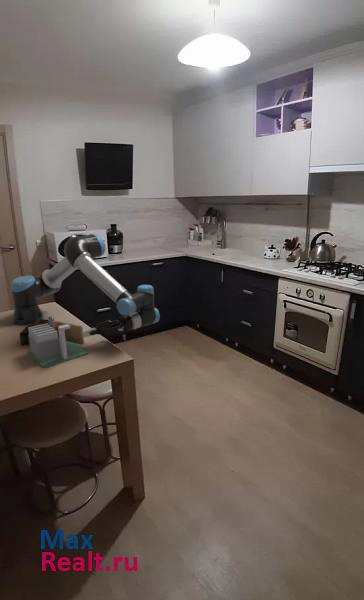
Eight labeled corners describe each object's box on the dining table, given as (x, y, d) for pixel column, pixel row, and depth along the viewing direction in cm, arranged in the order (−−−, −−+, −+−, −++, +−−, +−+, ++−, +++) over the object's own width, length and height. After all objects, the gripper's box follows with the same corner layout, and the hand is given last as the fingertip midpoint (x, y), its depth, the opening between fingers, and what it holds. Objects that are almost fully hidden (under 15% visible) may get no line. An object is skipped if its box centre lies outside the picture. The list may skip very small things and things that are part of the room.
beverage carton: (51, 330, 178) (49, 317, 176) (38, 346, 160) (36, 332, 158) (35, 330, 178) (33, 318, 176) (20, 346, 160) (17, 332, 158)
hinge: (50, 343, 158) (46, 318, 155) (54, 341, 160) (51, 316, 157) (81, 350, 151) (78, 324, 147) (85, 348, 153) (82, 322, 149)
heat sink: (27, 351, 154) (23, 320, 150) (70, 340, 166) (66, 310, 161) (42, 367, 139) (37, 333, 135) (88, 354, 151) (85, 322, 146)
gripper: (137, 333, 162) (89, 347, 147) (122, 325, 171) (76, 338, 157) (136, 317, 159) (87, 330, 145) (121, 310, 169) (74, 322, 155)
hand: (81, 334), depth 151 cm, fingers closed
